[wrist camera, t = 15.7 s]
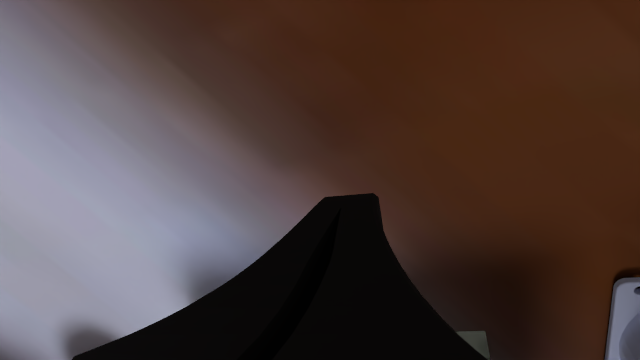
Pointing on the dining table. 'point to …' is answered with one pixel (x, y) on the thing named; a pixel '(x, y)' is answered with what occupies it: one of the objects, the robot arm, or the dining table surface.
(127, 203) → the dining table surface
